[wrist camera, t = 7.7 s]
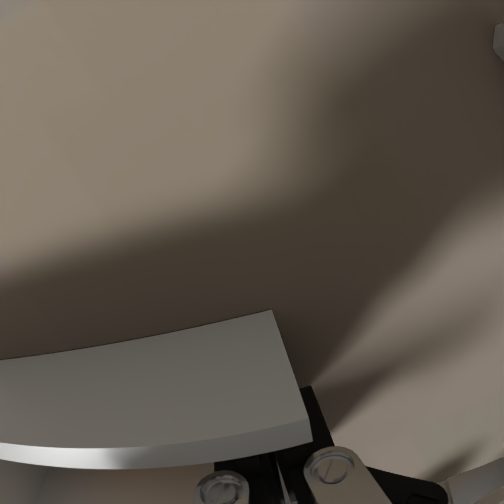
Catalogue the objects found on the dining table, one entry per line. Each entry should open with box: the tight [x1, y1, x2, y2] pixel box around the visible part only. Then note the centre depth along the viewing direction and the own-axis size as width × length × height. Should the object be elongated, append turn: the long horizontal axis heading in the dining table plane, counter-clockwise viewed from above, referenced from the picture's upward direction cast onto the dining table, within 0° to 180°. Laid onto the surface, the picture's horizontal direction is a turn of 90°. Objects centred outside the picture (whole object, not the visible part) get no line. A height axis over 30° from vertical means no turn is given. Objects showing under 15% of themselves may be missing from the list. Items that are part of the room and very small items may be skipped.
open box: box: [0, 310, 313, 504], centre depth 9 cm, size 14×8×5 cm, turn 103°
